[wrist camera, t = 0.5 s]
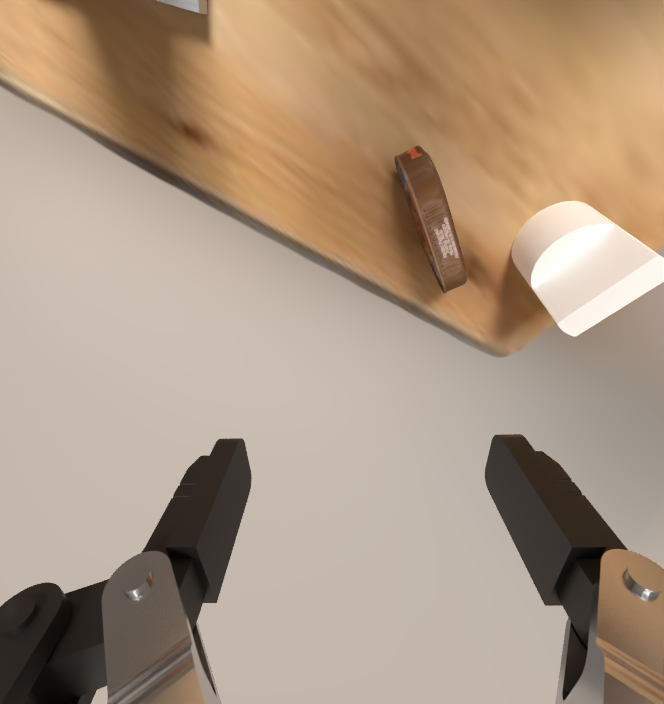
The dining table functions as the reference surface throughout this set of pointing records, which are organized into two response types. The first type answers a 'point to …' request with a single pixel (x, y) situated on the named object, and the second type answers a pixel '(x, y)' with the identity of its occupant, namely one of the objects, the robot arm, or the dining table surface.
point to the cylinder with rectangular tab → (583, 264)
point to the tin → (432, 217)
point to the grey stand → (189, 5)
